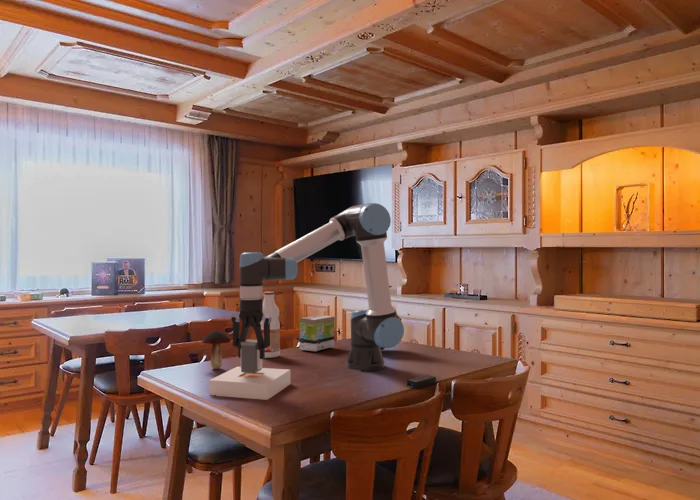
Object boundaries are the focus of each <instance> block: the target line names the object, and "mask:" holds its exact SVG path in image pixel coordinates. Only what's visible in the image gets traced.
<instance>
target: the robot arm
mask: <svg viewBox="0 0 700 500" xmlns="http://www.w3.org/2000/svg"><path fill="white" fill-rule="evenodd" d="M390 215H391V214H390V212H389V211H388V209H387V208H386V207H385V206H384V205H382V204H381V203H376V202H375V203H374V202H368V203H363V204H356V205H355V204H354V205H352V206H350V207H348V208H346V209H345V210H342V211H341V212H340V213H338V214H336V215H334V216H332V217H331V218H330V219H329V222H328V223H326V224H323V225H322V226H320V227H318V228H316V229H314V230H312V231H311V232H309V233H307V234H305V235H303V236H301V237H300V238H298V239H296V240H294V241H292V242H291V243H288V244H286V245H285V246H283V247H281V248H279V249H277V250H276V251H274V252H272V253H270V254H269V255H267V256H263V253H262V252H261V251H259V252H258V251H257V252H247V251H246V252H242V253H241V254H240V255H239V265H238V268H239V298H240V300H239V311H240V312H239V314H238V315H235V316H232V317H231V321H232V347H236V348H237V353H238V354H237V356H238V358H239V359H241V342H242V341H245V340H247V335H248V331H249V328H250V327H252V328H253V330H254V333H255V338H256V340H257V342H258V346H259V349H258V350H257V369H258V370H259V369H261V368H263V360H264V359H266V358H265V348H267V347H269V346H270V322H271V317H269V318H268V317H265V316H264V314H263V312H262V311H263V300H264V299H262V298H264V296H263V292H264V289H263V288H264V287H263V286H264V284H263V283H264V281H282V280H283V281H284V280H285V281H287V280H294V279H295V278H296V277H297V275H298V270H299V269H298V268H299V267H298V263H299V262H301V261H303V260H304V259H306V258H308V257H310V256H312V255H314V254H315V253H317V252H319V251H321V250H323V249H324V248H326V247H328V246H330V245H332V244H333V243H336V242H337V241H344V240H346V239H348V238H350V237H355V241H356V243H357V244H358V245H360V248H361V256H362V264H363V265H362V266H363V271H364V272H363V273H364V279H365V288H366V295H367V303H368V309H359V310H358V309H357V310H353V311H351V313H350V350H349V352H348V357H347V359H346V369H349V370H356V371H361V372H375V371H379V370H380V371H381V370H383V369H384V368H385V359H384V356H383V354H382V350H380V347H382V348H385V349H392V348H394V347H396V346H398V345H399V344H400V342H401V341H402V339H403V337H404V334H405V326H404V324H403V322H402V321H401V320H400V318H399V317H398V318H399V319H398V318H397V315H398V313H397V309H396V308H395V307H394V306H392V299H391V292H390V288H389V285H390V284H389V283H390V282H389V276H388V274H389V273H388V267H387V266H388V265H387V260H386V251H385V241H386V240H387V239H388V235H387V232H388V230H389V228H390V227H391V222H392V220H391V216H390ZM262 319H263V323H264V339H263V335H262V331H261V324H260V322H261V321H262ZM240 321H241V322H242V323H241V324H242V325H240ZM240 326H241V332H240Z"/></svg>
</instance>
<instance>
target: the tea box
mask: <svg viewBox="0 0 700 500" xmlns="http://www.w3.org/2000/svg"><path fill="white" fill-rule="evenodd" d="M335 317H336V316H332V315H322V314H321V315H320V314H318V315H312V316H306V317H300V318H299V319H300V320H299V350H303V351H310V352H318V351H322V350H326V349H330V348H334V347H335V331H336V330H335V329H336V328H335V326H336V325H335V323H336V321H335V320H336V319H335Z"/></svg>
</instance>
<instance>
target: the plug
mask: <svg viewBox="0 0 700 500" xmlns="http://www.w3.org/2000/svg"><path fill="white" fill-rule="evenodd" d="M258 349H259V346H258V342H257V339H246V340H245V341H242V342H241V358H240V367H241V372H244V373H257V372H258V371H260V370H262V368H263V367H262V368H261V369H259V370H258V369H257V350H258Z"/></svg>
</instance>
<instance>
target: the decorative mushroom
mask: <svg viewBox="0 0 700 500" xmlns="http://www.w3.org/2000/svg"><path fill="white" fill-rule="evenodd" d="M231 342H232V339H231V338H230V336H229V335H227V334H226V333H225V332H222V331H220V330H213V331H211V332H209V333H207V334H206V335H205V336H204V337H203V339H202V341H201V343H203V344H209V345H212V346H211V352H210V366H211V368H212V369H213V370H219V369H220V368H221V367H222V366H223V357H222V356H223V355H222V354H223V353H222V348H221V344H228V343H231Z"/></svg>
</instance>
